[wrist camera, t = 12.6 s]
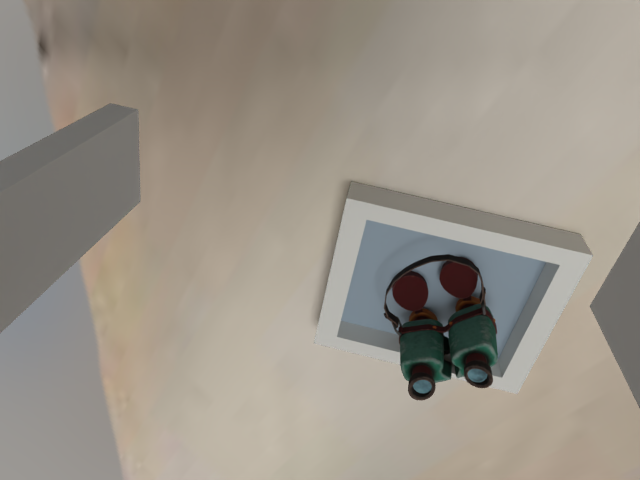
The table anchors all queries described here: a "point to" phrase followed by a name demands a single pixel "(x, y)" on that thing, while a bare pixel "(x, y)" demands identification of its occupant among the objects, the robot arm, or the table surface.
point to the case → (439, 239)
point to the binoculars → (443, 328)
